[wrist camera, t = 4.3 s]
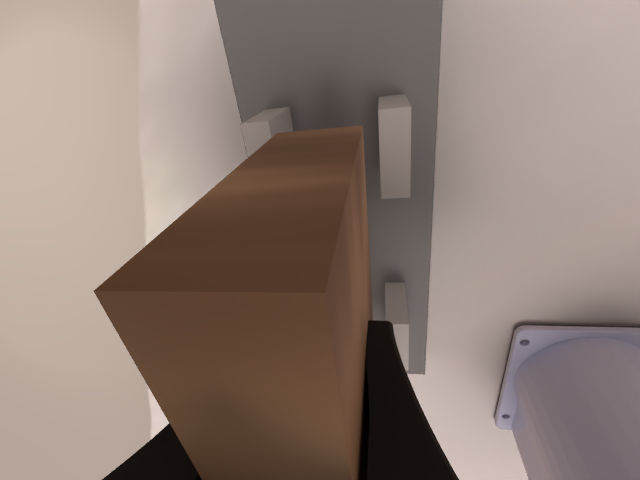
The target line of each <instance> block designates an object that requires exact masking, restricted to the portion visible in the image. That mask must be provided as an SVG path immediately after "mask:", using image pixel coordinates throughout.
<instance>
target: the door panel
mask: <svg viewBox="0 0 640 480" xmlns="http://www.w3.org/2000/svg"><path fill="white" fill-rule="evenodd" d="M94 293H95V294H96V296H97V298H98V299H99V301H100V303H101V305H102V306H103V308H104V310H105V312H106V313H107V315H108V317H109V319H110V320H111V322H112V324H113V326H114V327H115V329H116V331H117V332H118V334H119V336H120V338H121V340H122V341H123V343H124V345H125V346H126V348H127V350H128V352H129V353H130V355H131V357H132V359H133V360H134V362H135V364H136V366H137V367H138V369H139V371H140V372H141V374H142V376H143V378H144V379H145V381H146V383H147V385H148V386H149V388H150V390H151V392H152V393H153V395H154V397H155V399H156V400H157V402H158V404H159V406H160V407H161V409H162V411H163V413H164V414H165V416H166V418H167V420H168V421H169V423H170V425H171V426H172V428H173V430H174V432H175V433H176V435H177V437H178V439H179V440H180V442H181V444H182V446H183V447H184V449H185V451H186V453H187V454H188V456H189V458H190V459H191V461H192V463H193V465H194V466H195V468H196V470H197V472H198V473H199V475H200V477H201V479H202V480H367V475H368V454H369V432H370V416H369V395H368V379H367V362H366V341H367V329H368V320H373V308H372V290H371V271H370V252H369V233H368V215H367V196H366V177H365V158H364V140H363V125H360V126H349V127H338V128H327V129H316V130H305V131H294V132H282V133H276V134H275V135H274V136H273V137H272V138H271V139H269V140H268V141H267V142H266V143H265V144H264V145H262V146H261V147H260V148H259V149H258V150H257V151H255V152H254V153H253V154H252V155H251V156H250V157H248V158H247V159H246V160H245V161H244V162H243V163H242V164H240V165H239V166H238V167H237V168H236V169H235V170H233V171H232V172H231V173H230V174H229V175H228V176H226V177H225V178H224V179H223V180H222V181H221V182H220V183H218V184H217V185H216V186H215V187H214V188H213V189H211V190H210V191H209V192H208V193H207V194H206V195H204V196H203V197H202V198H201V199H200V200H199V201H197V202H196V203H195V204H194V205H193V206H192V207H191V208H189V209H188V210H187V211H186V212H185V213H184V214H182V215H181V216H180V217H179V218H178V219H177V220H175V221H174V222H173V223H172V224H171V225H170V226H168V227H167V228H166V229H165V230H164V231H163V232H162V233H160V234H159V235H158V236H157V237H156V238H155V239H153V240H152V241H151V242H150V243H149V244H148V245H146V246H145V247H144V248H143V249H142V250H141V251H140V252H139V253H137V254H136V255H135V256H134V257H133V258H131V259H130V260H129V261H128V262H127V263H126V264H124V266H122V267H121V268H120V269H119V270H117V271H116V272H115V273H114V274H113V275H112V276H111V277H109V278H108V279H107V280H106V281H105V282H104V283H103V284H101V285H100V286H99V287H98V288H97V289H95V290H94Z"/></svg>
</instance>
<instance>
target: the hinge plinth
mask: <svg viewBox="0 0 640 480" xmlns="http://www.w3.org/2000/svg"><path fill="white" fill-rule="evenodd" d="M442 1H443V0H214V4H215V8H216V13H217V17H218V21H219V26H220V30H221V34H222V39H223V43H224V47H225V52H226V56H227V60H228V65H229V69H230V73H231V78H232V82H233V86H234V91H235V95H236V100H237V104H238V108H239V113H240V117H241V121H242V124H240V125H241V130H242V134H243V138H244V143H245V147H246V151H247V155H248V157H250V156H251V155H252V154H253V153H254V152H255V151H257V150H258V149H259V148H260V147H261V146H262V145H264V144H265V143H266V142H267V141H268V140H269V139H271V138H272V137H273V136H274V135H275V134H276V133H282V132H294V131H305V130H316V129H327V128H338V127H349V126H360V125H363V140H364V158H365V177H366V196H367V215H368V233H369V252H370V271H371V290H372V308H373V320H376V321H390V322H391V323H392V324H393V330H394V335H395V340H396V343H397V347H398V350H399V353H400V356H401V359H402V362H403V365H404V368H405V371H406V373H409V374H425V361H426V340H427V318H428V297H429V276H430V255H431V234H432V213H433V191H434V170H435V149H436V128H437V107H438V85H439V64H440V43H441V22H442Z"/></svg>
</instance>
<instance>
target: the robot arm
mask: <svg viewBox="0 0 640 480" xmlns="http://www.w3.org/2000/svg"><path fill="white" fill-rule="evenodd" d="M524 339H526V340H524ZM521 340H523V341H521ZM366 362H367V379H368V395H369V416H370V432H369V454H368V475H367V480H459V479H458V477H457V476H456V474H455V472H454V470H453V469H452V467H451V465H450V463H449V461H448V459H447V458H446V456H445V454H444V452H443V450H442V448H441V447H440V445H439V443H438V441H437V439H436V437H435V435H434V433H433V431H432V429H431V427H430V425H429V423H428V421H427V419H426V417H425V415H424V412H423V410H422V408H421V406H420V404H419V402H418V399H417V397H416V395H415V393H414V390H413V388H412V385H411V383H410V380H409V378H408V376H407V373H406V371H405V368H404V365H403V362H402V359H401V356H400V353H399V350H398V347H397V343H396V340H395V335H394V330H393V324H392V323H391V322H390V321H376V320H368V329H367V341H366ZM495 424H496V426H497V427H498V428H500V429H507V430H512V431H513V434H514V437H515V440H516V443H517V446H518V449H519V452H520V455H521V458H522V461H523V464H524V467H525V470H526V473H527V476H528V479H529V480H640V328H627V327H579V326H532V325H524V326H520V327H518V328H516V329H515V331H514V335H513V340H512V344H511V349H510V353H509V357H508V362H507V366H506V371H505V375H504V380H503V384H502V389H501V393H500V398H499V402H498V407H497V411H496V416H495ZM102 480H202V479H201V477H200V475H199V473H198V472H197V470H196V468H195V466H194V465H193V463H192V461H191V459H190V458H189V456H188V454H187V453H186V451H185V449H184V447H183V446H182V444H181V442H180V440H179V439H178V437H177V435H176V433H175V432H174V430H173V428H172V426H171V425H170V423H169V424H168V425H167V426H166V427H165V428H164V429H163V430H162V431H160V432H159V433H158V434H157V435H156V436H155V437H154V438H153V439H151V440H150V441H149V442H148V443H147V444H146V445H144V446H143V447H142V448H141V449H139V450H138V451H137V452H136V453H135V454H133V455H132V456H131V457H130V458H129V459H127V460H126V461H125V462H124V463H122V464H121V465H120V466H119V467H118V468H116V469H115V470H114V471H112V472H111V473H110V474H109V475H107V476H106V477H105V478H104V479H102Z"/></svg>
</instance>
